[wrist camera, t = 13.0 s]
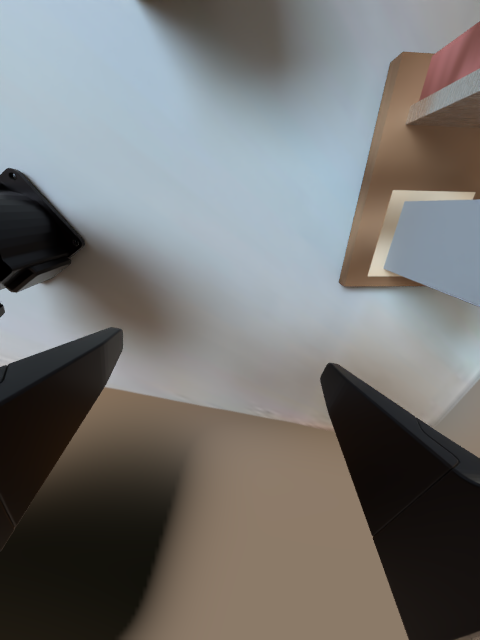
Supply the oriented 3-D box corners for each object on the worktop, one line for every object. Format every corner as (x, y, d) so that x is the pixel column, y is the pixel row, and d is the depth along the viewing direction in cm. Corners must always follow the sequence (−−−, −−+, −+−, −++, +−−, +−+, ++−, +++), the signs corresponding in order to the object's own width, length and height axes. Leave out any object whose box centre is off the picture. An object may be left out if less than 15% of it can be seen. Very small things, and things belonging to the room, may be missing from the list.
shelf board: (441, 282, 23) (542, 318, 15) (338, 282, 22) (394, 319, 15) (538, 71, 15) (813, -47, 8) (390, 62, 15) (548, -75, 8)
